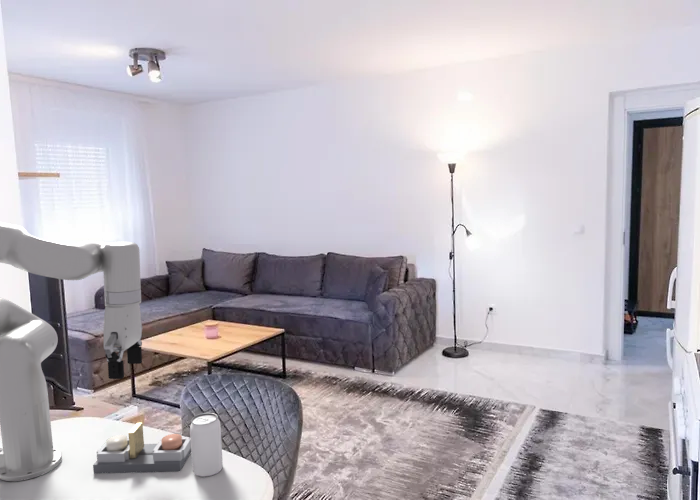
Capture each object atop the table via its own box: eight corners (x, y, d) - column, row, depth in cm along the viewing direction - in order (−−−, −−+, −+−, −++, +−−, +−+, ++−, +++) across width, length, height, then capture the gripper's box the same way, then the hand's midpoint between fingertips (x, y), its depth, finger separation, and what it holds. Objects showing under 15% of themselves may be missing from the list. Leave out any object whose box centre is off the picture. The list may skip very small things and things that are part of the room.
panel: (93, 473, 116) (92, 456, 115) (111, 452, 125) (110, 436, 124) (182, 471, 116) (181, 454, 115) (194, 450, 125) (193, 434, 124)
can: (214, 479, 113) (211, 426, 111) (187, 476, 114) (183, 424, 112) (227, 463, 119) (224, 413, 117) (201, 461, 120) (198, 411, 119)
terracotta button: (159, 451, 118) (158, 443, 117) (165, 442, 122) (165, 434, 122) (178, 451, 118) (178, 443, 117) (184, 441, 122) (184, 433, 122)
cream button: (103, 453, 118) (102, 444, 117) (111, 443, 122) (111, 435, 122) (122, 452, 118) (122, 444, 117) (130, 443, 122) (130, 434, 122)
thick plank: (130, 458, 118) (128, 432, 117) (139, 447, 122) (137, 422, 122) (135, 458, 118) (133, 432, 117) (144, 446, 122) (142, 422, 122)
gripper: (123, 289, 127) (125, 358, 129) (87, 305, 109) (90, 384, 111) (154, 289, 126) (156, 358, 129) (122, 306, 109) (126, 385, 111)
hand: (126, 370), depth 120 cm, fingers open, 9 cm apart
